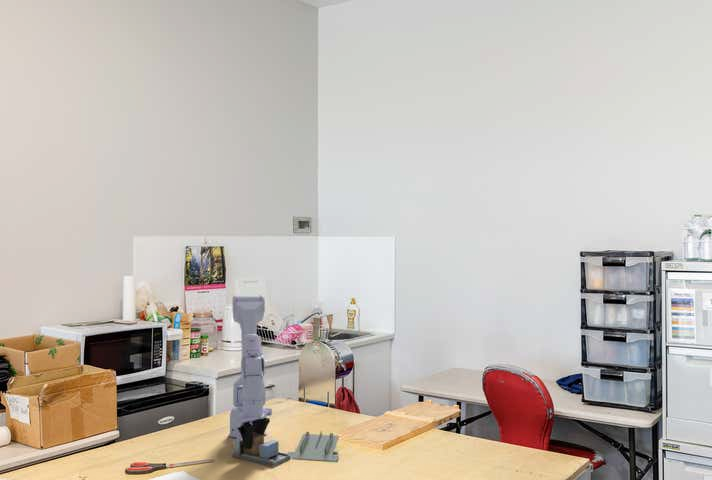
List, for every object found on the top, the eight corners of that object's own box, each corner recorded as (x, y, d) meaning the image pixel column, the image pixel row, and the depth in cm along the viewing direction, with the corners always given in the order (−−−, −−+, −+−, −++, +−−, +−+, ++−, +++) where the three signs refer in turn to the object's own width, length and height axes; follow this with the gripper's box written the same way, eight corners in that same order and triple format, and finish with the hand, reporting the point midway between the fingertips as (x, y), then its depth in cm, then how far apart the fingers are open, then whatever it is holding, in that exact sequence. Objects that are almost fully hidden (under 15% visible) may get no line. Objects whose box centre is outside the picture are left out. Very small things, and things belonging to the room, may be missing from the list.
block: (244, 453, 192) (243, 436, 191) (253, 449, 195) (253, 432, 195) (254, 456, 189) (254, 438, 189) (263, 452, 193) (263, 434, 193)
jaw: (259, 457, 188) (259, 444, 188) (271, 451, 192) (271, 439, 192) (266, 458, 186) (266, 446, 186) (278, 453, 191) (278, 441, 191)
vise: (231, 457, 192) (231, 440, 192) (249, 449, 198) (249, 433, 198) (273, 467, 184) (273, 449, 184) (290, 458, 190) (289, 441, 190)
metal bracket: (296, 426, 202) (345, 429, 199) (298, 443, 204) (347, 446, 201) (283, 455, 189) (335, 458, 186) (285, 473, 191) (336, 476, 188)
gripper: (246, 406, 184) (246, 455, 184) (279, 395, 196) (280, 441, 196) (227, 402, 187) (227, 451, 188) (261, 391, 200) (261, 437, 200)
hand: (253, 446), depth 192 cm, fingers closed on block, 4 cm apart
